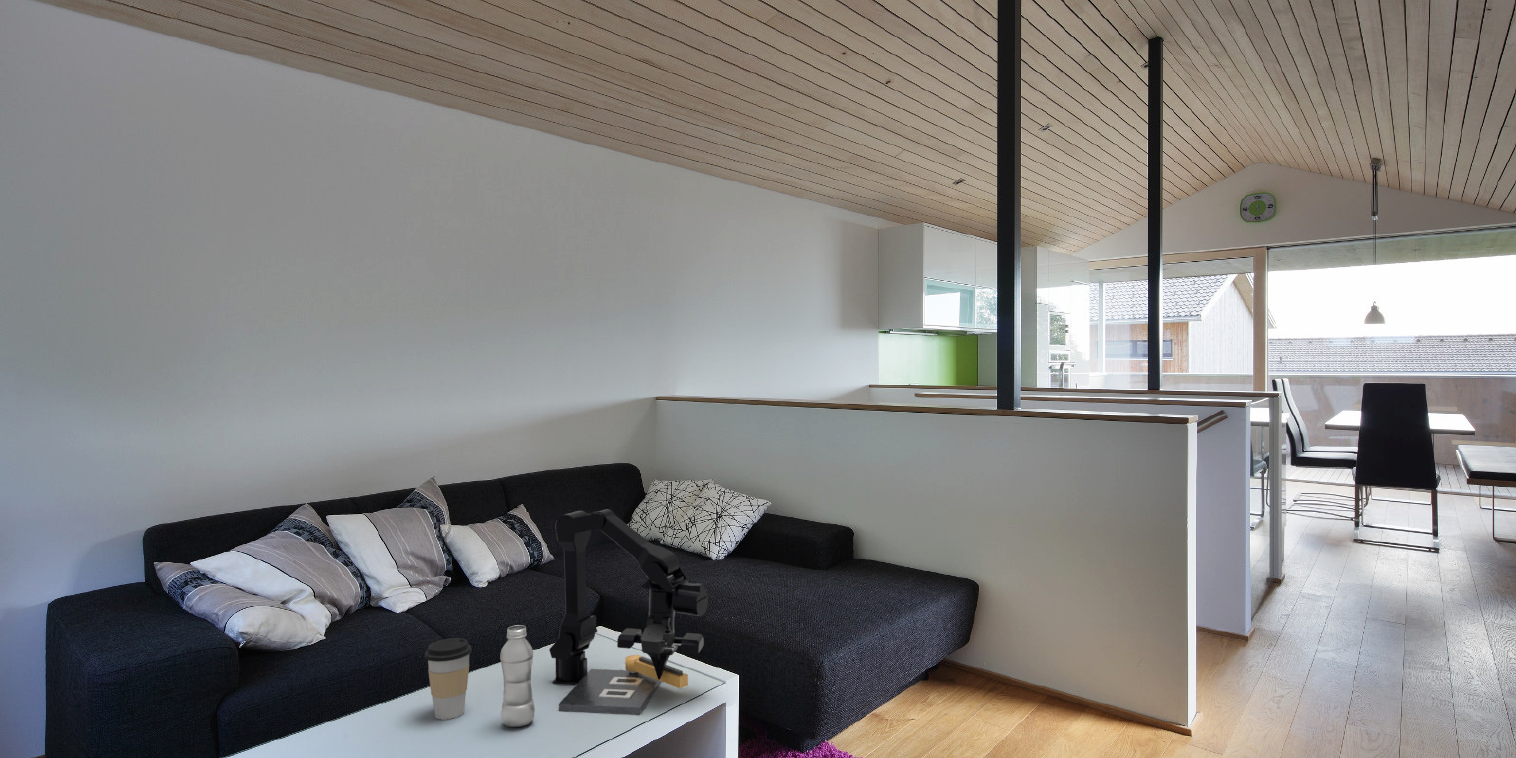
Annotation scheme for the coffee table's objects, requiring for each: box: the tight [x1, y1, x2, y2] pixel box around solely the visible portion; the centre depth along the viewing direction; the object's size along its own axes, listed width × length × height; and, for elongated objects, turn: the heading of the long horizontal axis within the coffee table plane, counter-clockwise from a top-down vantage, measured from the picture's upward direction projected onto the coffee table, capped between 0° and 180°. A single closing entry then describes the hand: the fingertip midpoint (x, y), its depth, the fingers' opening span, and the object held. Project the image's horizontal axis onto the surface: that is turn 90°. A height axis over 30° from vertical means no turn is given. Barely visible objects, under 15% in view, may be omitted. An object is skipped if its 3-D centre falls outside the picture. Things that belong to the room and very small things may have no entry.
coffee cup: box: [423, 637, 473, 721], centre depth 164 cm, size 9×9×15 cm
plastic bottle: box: [499, 624, 536, 728], centre depth 159 cm, size 6×7×20 cm
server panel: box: [558, 668, 663, 716], centre depth 174 cm, size 18×20×2 cm
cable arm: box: [624, 654, 689, 689], centre depth 177 cm, size 4×19×3 cm, turn 48°
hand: (659, 678), depth 173 cm, fingers closed
